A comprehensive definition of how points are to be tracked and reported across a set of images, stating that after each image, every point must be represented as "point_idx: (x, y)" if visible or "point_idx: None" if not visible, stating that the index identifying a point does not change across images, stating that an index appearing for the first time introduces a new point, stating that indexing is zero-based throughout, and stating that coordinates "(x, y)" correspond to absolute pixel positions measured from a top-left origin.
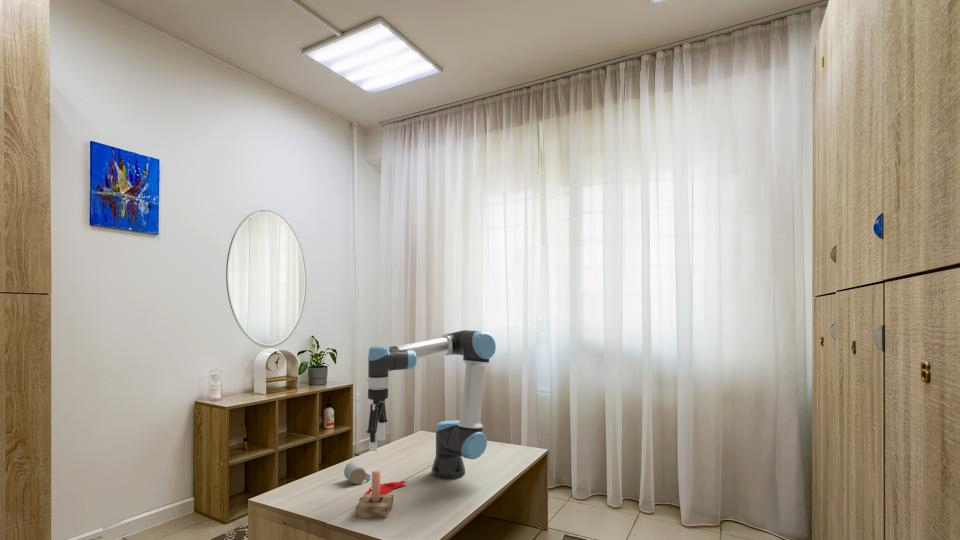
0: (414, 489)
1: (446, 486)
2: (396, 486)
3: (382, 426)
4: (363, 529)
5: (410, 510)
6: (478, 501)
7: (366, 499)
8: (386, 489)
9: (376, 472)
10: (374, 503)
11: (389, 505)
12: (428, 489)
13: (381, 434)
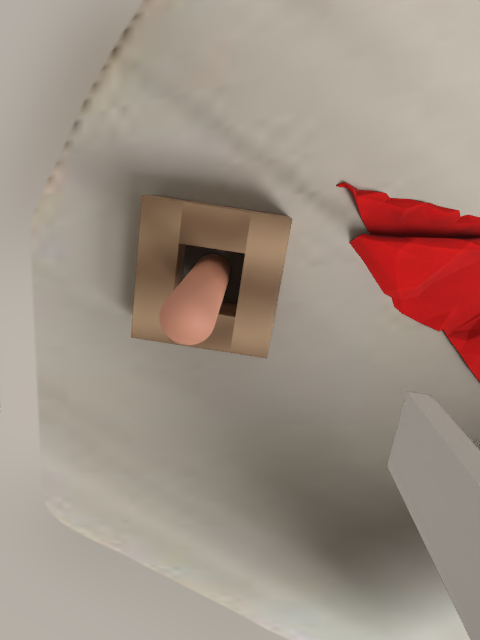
0: None
1: None
2: (464, 348)
3: (475, 588)
4: (47, 240)
5: (210, 406)
6: (265, 615)
7: (217, 236)
8: (451, 303)
9: (180, 320)
10: (167, 279)
11: None
12: None
13: (422, 476)
